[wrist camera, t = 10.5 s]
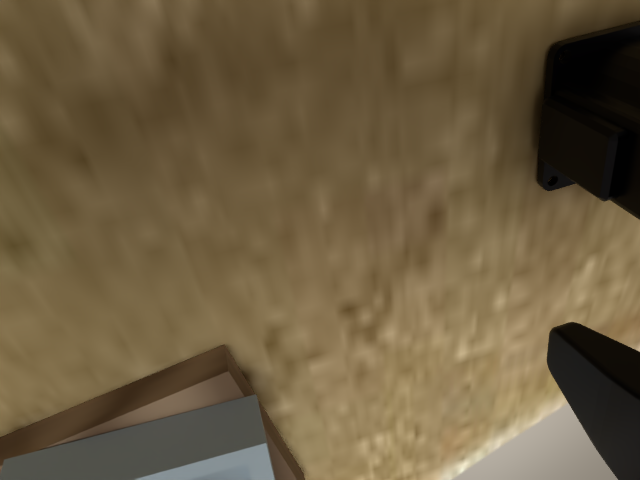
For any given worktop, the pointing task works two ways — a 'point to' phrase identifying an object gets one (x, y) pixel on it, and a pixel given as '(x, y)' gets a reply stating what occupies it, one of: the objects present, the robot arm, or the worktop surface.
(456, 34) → the worktop surface
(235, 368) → the slab bottom
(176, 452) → the slab top
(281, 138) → the worktop surface
